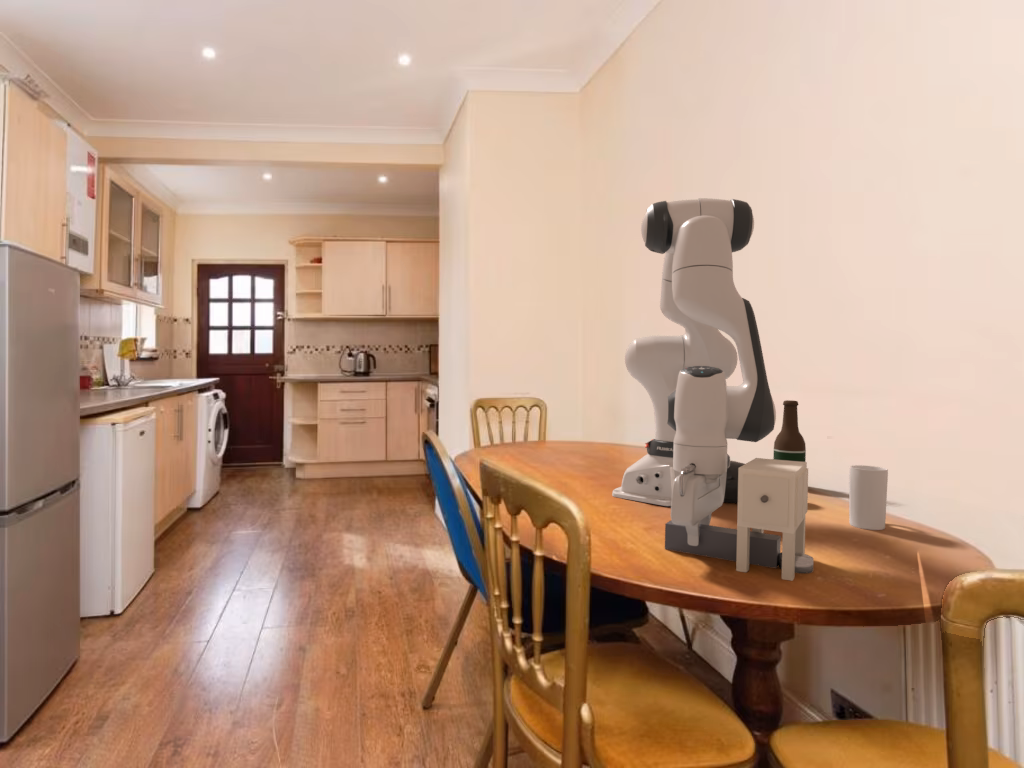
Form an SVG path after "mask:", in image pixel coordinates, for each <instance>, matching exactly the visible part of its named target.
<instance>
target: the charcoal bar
mask: <svg viewBox="0 0 1024 768" xmlns="http://www.w3.org/2000/svg"><path fill="white" fill-rule="evenodd" d="M664 531H665V532H664V550H668V551H673V552H674V551H675V552H678V553H679V552H680V553H685V554H692V555H697V556H703V557H709V558H715V559H720V560H725V561H731V562H736V557H737V528H730V527H729V528H728V527H722V526H716V525H711V524H710V525H704V524H700V526H699V534H701V539H700V540H701V541H700V544H699V545H697V546H692V545H689V544H688V534H687V531H686V527H685V526H683V525H677V524H673V523H672V520H671V519H670V520H669V521H668V522H665V526H664ZM781 537H782V536H781V535H778V534H771V533H765V532H764V533H759V532H752V530H750V548H749V565H756V566H760V567H765V568H772V569H777V568H779V567H778V557H779V553H781V549H782V548H781V547H782V546H781V545H782V543H781V542H782V538H781Z"/></svg>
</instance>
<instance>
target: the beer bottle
mask: <svg viewBox="0 0 1024 768" xmlns="http://www.w3.org/2000/svg"><path fill="white" fill-rule="evenodd" d="M798 401H799V400H793V399H792V400H789V399H788V400H787V399H786V400H784V401H783V403H782V405H783V411H782V412H783V415H782V426H781V430H780V432H779V433H778V434H777V436H776V437H775V440H774V443H773V458H772V459H775V460H787V461H799V462H806V455H807V453H806V451H807V450H806V449H807V448H806V441H805V439H804V436H803V435H802V434H801V432H800V429H799V417H798V406H799V402H798Z"/></svg>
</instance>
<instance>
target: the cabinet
mask: <svg viewBox="0 0 1024 768" xmlns="http://www.w3.org/2000/svg"><path fill="white" fill-rule="evenodd" d="M807 466H808V461H805V462H799V461H787V460H775V459H773V458H772V459H771V458H761V457H755V458H753V459H751V460H750V461H748V462H746V463H744V465H743V466H741V467H739V468H738V503H737V511H736V512H737V514H736V516H737V518H736V519H737V521H736V523H737V525H736V529H737V557H736V561H735V563H736V567H735V568H736V569H735V572H741V573H747V572H748V571H750V564H749V548H750V531H752V532H759V533H765V531H770V532H771V531H772V532H778V533H782V539H781V542H782V543H781V545H782V546H781V547H782V548H781V549H782V550H781V552H782V569H781V580H786V581H790V582H791V581H794V579H795V575H796V573H795V552H797V553H803V554H806V552H805V548H806V514H807V513H808V503H809V502H808V498H809V497H808V496H809V495H808V494H809V493H808V492H809V491H808V490H809V468H808V467H807Z"/></svg>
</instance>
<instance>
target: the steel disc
mask: <svg viewBox="0 0 1024 768" xmlns="http://www.w3.org/2000/svg"><path fill="white" fill-rule="evenodd" d="M777 568H779V569H781V570H782V551H780V553H779V557H778V567H777ZM812 573H814V557H813V556H811V555H809V554H806V553H805V554H803V553H797V552H795V574H812Z"/></svg>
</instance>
